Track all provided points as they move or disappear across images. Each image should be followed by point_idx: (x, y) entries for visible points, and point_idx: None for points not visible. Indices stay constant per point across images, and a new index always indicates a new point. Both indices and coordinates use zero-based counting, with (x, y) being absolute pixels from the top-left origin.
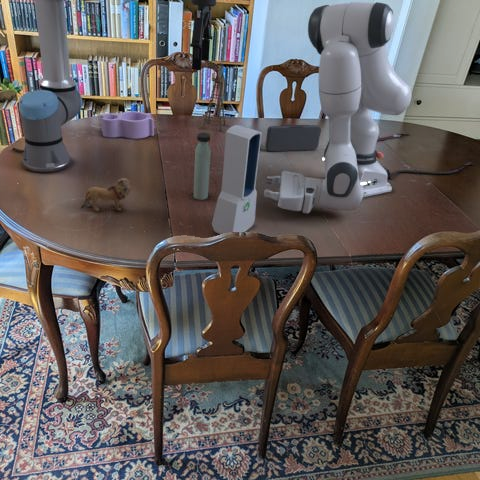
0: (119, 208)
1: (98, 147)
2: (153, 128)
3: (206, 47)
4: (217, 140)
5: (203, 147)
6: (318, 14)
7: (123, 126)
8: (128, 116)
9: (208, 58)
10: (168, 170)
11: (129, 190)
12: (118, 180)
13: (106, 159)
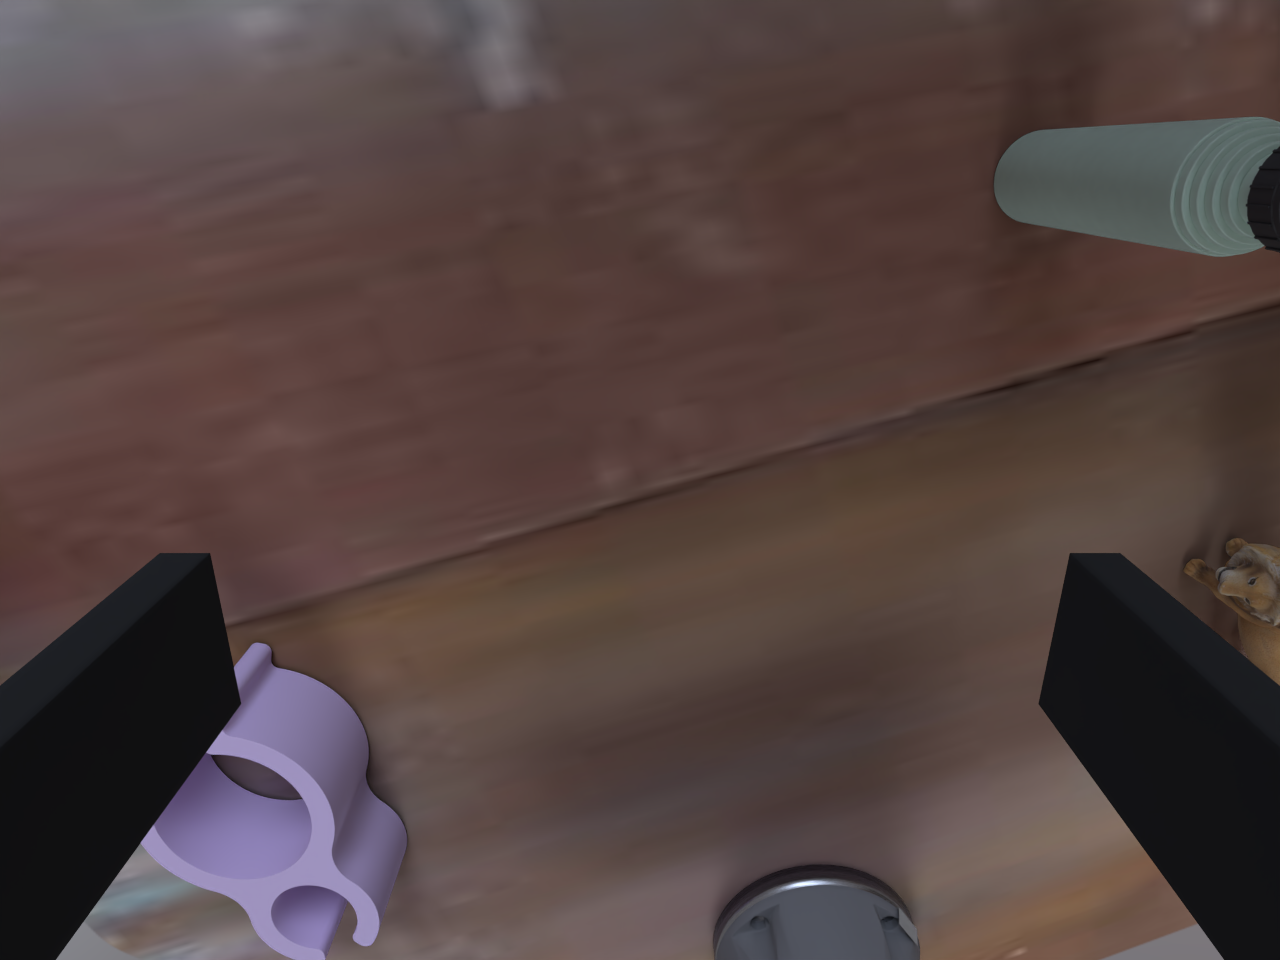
0: (1243, 545)
1: (554, 831)
2: (241, 670)
3: (36, 807)
4: (97, 234)
5: None
6: None
7: (345, 819)
8: (198, 843)
9: (177, 586)
10: (728, 439)
11: (1267, 547)
12: (1274, 624)
13: (686, 757)
